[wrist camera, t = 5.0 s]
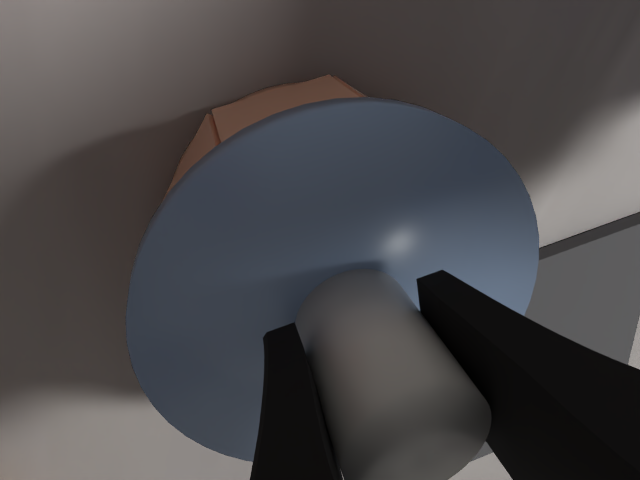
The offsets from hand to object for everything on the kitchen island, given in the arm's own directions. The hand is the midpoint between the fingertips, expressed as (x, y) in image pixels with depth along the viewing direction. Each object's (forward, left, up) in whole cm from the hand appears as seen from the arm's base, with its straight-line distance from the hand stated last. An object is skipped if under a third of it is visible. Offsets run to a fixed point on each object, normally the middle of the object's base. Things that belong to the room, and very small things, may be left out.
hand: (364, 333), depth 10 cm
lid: (0, +1, -2) cm, 2 cm away
